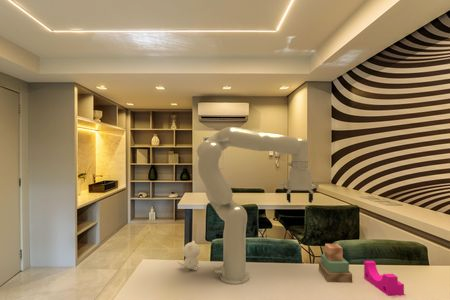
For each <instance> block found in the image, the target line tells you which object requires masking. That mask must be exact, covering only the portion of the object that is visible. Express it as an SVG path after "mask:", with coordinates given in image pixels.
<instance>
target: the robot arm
mask: <svg viewBox="0 0 450 300" xmlns="http://www.w3.org/2000/svg"><path fill="white" fill-rule="evenodd" d="M228 147H232V148H233V147H234V148H239V149H243V150H249V151H258V152H276V153H277V154H278V155H290V158H291V160H290V162H288V163H287V166H289V167H290V168H289V170H288V179H287V180H286V181H284V182H282V183H280V186H281V188H282V190H283V191H284V192H285V193H286V201H287V202H288V203H290V204H291V202H292V201H291V199H292V198H291V196H292V195H291V191H308V202H309V203H310V204H312V202H313V201H314V193H315V192H317V190H318V188H319V186H320V184H319V183H316V182H315V181H313V180H312V172H311V168H310V167H309V141H308V139H306V138H296V137H293V136H289V135H285V134H277V133H270V132H265V131H264V132H263V131H257V130H252V129H248V128H243V127H238V126H227V127H224V128H222V129H221V130H219V131H217V132H216V133H214V134H212V135H211V136H210V137H209V138H207V139H205V140H204V141H202V142H201V143H200V144H199V145H198V147H197V149H196V154H197V156H198V161H197V162H198V163H197V171H198V175H199V178H200V179H201V181H202V183H203V185H204V187H205V195H206V198H207V200H208V202H209V203H210V204H211V206H212V208H213V209H214V211H215V212H216V214H217V215H218V217H219V218H220V219H221V220H222V221H223V222H224V227H223V234H222V243H223V248H222V249H223V252H222V255H223V257H222V259H223V261H222V263H223V264H222V266H213V267H212V272H214V273H215V274H218V275H219V279H220V280H221V282H223V283H225V284H229V285H242V284H244V283H247V282H248V281H249V280H250V274H249V272H248V271H246V268H247V267H246V263H247V262H246V260H247V259H246V255H247V252H246V249H247V247H246V243H247V242H246V238H247V237H246V232H247V223H248V213H247V210H246V209H245V208H244V206H242V205H241V204H239V203H237V202H235V201H234V200H233V196H234V194H233V190H232V188H231V187H230V185H229V183H228V182H227V180H226V179H225V178H224V175H223V174H222V172H221V170H220V167H219V166H220V165H219V163H220V160H221V157H222V154H223V151H225V150H226V149H227V148H228ZM312 185H313V186H314V187H313V186H312ZM286 186H287V187H288V188H286ZM312 187H313V188H312Z"/></svg>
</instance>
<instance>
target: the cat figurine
mask: <svg viewBox="0 0 450 300" xmlns="http://www.w3.org/2000/svg"><path fill="white" fill-rule="evenodd" d="M200 253H201V249H200V246H199V245H198V244H197V243H196V242H195V240H192V241H191V242H188V243H186V244H185V245H184V247H183V248H182V254H183V256H184V257H185V259H184V261H183V263H182V262H181V261H179V260H177V261H176V262H177V263H178V264H179V265H180V266H182V267H184V268H187V269H188V270H194V271H198V268H199V266H198V265H199V258H198V257H199V255H200ZM196 267H198V268H196Z"/></svg>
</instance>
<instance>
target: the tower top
mask: <svg viewBox="0 0 450 300" xmlns="http://www.w3.org/2000/svg"><path fill="white" fill-rule="evenodd" d="M320 262H321V264H322V265H323V266H324V267H325V268H326V269H327V270H328V271H329V273H349V271H350V263H349V261H347V260H346V259H345V258H344V257H343V261H329V260H328V259H327V258H326V257H325V253H323V254H320Z"/></svg>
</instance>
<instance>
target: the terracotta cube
mask: <svg viewBox="0 0 450 300" xmlns="http://www.w3.org/2000/svg"><path fill="white" fill-rule="evenodd" d="M343 249H344V248H343V247H342V246H341V245H339V244H338V243H325V244H324V254H325V257H326V258H327V259H328V260H329V261H343V258H344V257H343V254H344V253H343Z"/></svg>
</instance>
